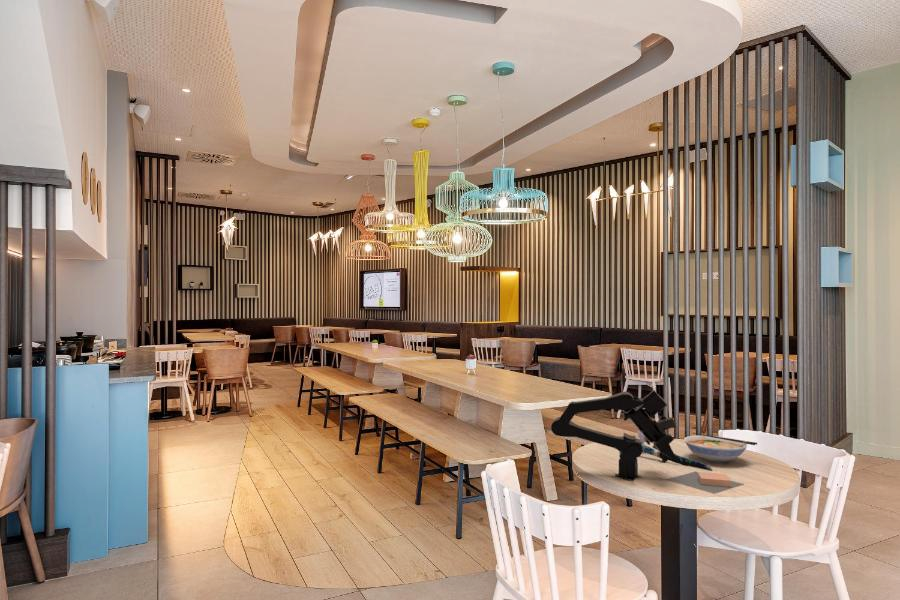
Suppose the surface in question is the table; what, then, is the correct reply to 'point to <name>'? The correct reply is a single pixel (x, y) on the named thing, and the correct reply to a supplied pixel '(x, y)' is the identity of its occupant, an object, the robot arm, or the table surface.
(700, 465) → the knife
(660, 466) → the table surface
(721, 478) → the tile
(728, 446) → the ramen bowl
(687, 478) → the mat
